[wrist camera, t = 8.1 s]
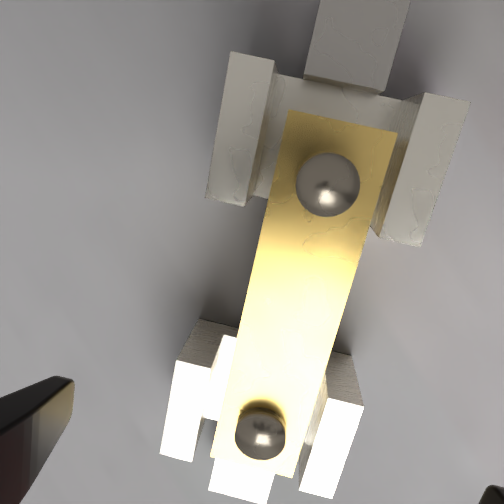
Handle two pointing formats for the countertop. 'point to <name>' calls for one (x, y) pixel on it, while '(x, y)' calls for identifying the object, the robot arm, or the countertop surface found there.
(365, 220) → the link
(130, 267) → the countertop surface
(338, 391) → the chain ends
